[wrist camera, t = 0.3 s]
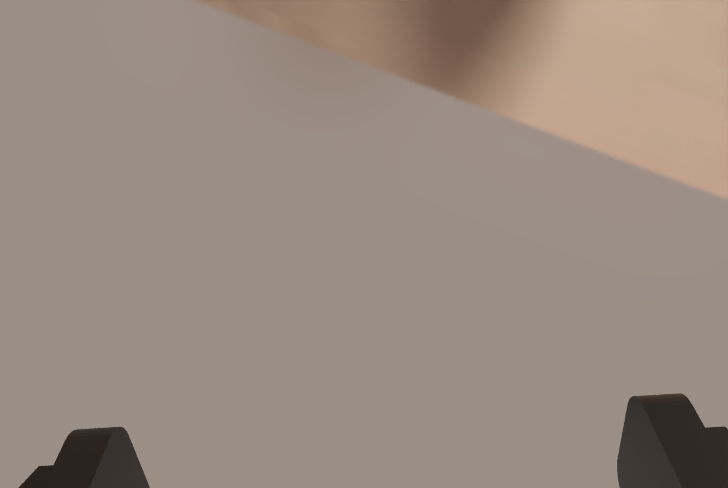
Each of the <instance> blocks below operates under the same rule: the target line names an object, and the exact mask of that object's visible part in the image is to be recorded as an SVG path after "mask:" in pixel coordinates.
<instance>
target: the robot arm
mask: <svg viewBox="0 0 728 488" xmlns="http://www.w3.org/2000/svg"><path fill="white" fill-rule="evenodd" d="M617 472H618V481H619V486H620V488H728V429H727V428H726V427H710V428H705V427H704V425H703V423H702V422H701V420H700V418H699V416H698V414H697V413H696V411H695V409H694V407H693V405H692V404H691V402H690V401H689V400H688V398H687V397H686V396H685V395H683V394H664V395H648V396H633V397H631V398H630V399H629V402H628V406H627V411H626V416H625V422H624V427H623V432H622V438H621V443H620V449H619V454H618V460H617ZM19 488H149V485H148V482H147V480H146V477H145V475H144V472H143V470H142V467H141V465H140V462H139V460H138V458H137V455H136V452H135V450H134V447H133V445H132V443H131V440H130V438H129V435H128V433H127V431H126V430H125V429H124V428H123V427H111V428H94V429H80V430H79V429H78V430H74V431H72V432H71V433H70V434H69V435H68V437H67V438H66V440H65V442H64V444H63V446H62V449H61V451H60V453H59V455H58V457H57V459H56V461H55V463H54V465H52V466H39V467H38V468H37V469H36V470H35V471H34V472H33V473H32V474H31V475H30V476H29V477H28V478H27V479H26V480H25V482H24V483H23V484H22V485H21V486H20V487H19Z"/></svg>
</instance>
